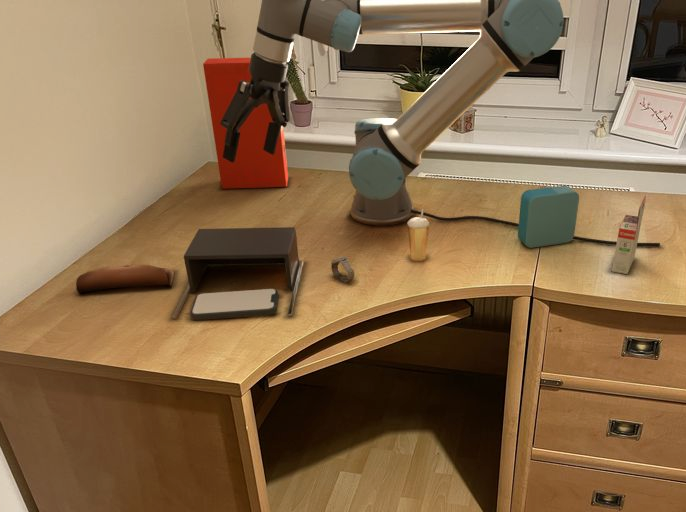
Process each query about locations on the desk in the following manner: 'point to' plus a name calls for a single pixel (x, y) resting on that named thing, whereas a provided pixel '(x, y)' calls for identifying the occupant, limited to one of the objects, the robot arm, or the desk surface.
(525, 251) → the desk surface
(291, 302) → the rails
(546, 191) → the data package
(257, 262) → the cover
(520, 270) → the desk surface
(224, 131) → the tall red block
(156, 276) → the sunglasses case
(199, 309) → the phone case
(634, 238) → the ink box
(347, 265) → the wristwatch
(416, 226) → the milkshake
